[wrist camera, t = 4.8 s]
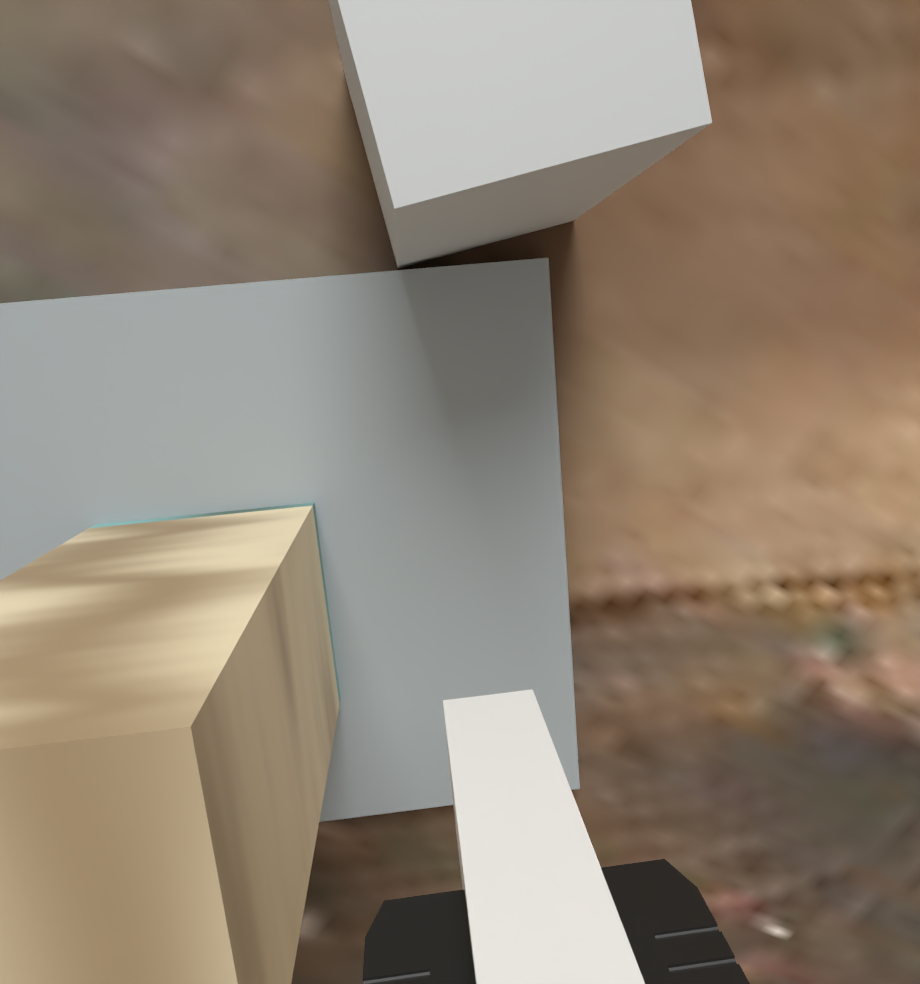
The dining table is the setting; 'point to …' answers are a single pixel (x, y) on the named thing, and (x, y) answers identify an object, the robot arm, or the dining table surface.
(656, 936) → the robot arm
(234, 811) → the birch block
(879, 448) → the dining table surface
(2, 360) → the slate mat
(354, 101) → the grey painted block
